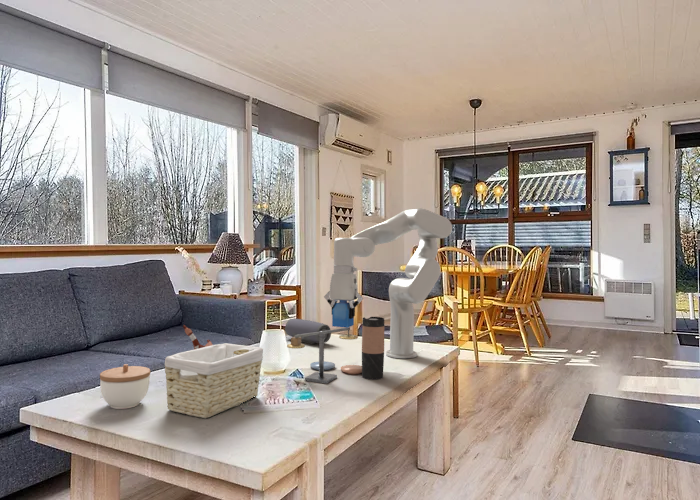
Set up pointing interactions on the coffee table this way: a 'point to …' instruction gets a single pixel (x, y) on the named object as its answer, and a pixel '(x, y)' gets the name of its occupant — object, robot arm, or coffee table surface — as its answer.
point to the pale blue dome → (326, 365)
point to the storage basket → (212, 378)
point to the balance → (320, 353)
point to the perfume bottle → (341, 315)
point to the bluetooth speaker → (306, 330)
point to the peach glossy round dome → (352, 369)
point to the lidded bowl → (124, 385)
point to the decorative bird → (195, 339)
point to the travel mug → (372, 348)
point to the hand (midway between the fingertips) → (343, 317)
